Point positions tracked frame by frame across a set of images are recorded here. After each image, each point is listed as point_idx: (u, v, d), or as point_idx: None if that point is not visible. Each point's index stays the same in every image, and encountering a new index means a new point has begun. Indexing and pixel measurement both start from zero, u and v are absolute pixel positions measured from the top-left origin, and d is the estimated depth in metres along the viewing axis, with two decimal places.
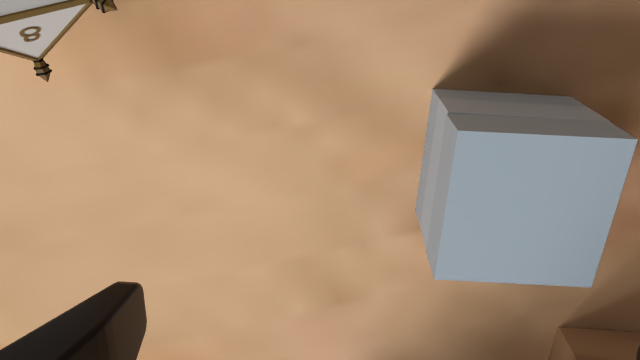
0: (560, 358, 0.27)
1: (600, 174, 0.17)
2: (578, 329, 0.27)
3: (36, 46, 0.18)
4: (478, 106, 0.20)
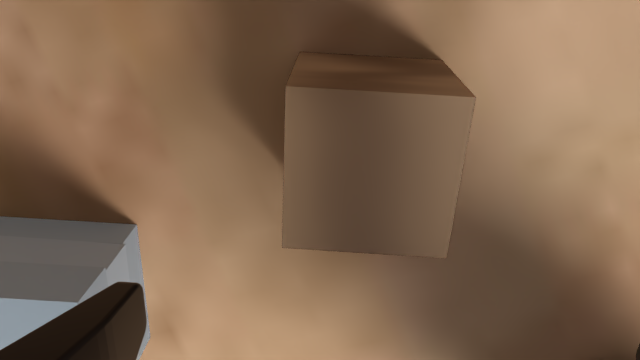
0: None
1: None
2: None
3: None
4: None
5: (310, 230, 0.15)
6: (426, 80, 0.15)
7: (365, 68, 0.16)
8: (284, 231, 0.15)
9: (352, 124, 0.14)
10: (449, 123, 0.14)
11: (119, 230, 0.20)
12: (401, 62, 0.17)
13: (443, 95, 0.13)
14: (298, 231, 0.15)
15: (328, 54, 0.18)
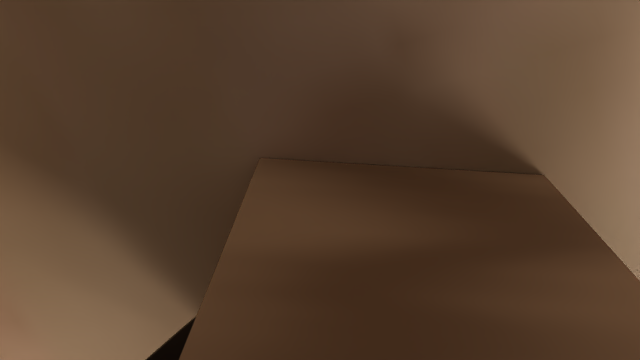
0: None
1: None
2: None
3: None
4: None
5: None
6: (559, 288, 0.06)
7: (398, 228, 0.07)
8: None
9: None
10: None
11: None
12: (469, 193, 0.08)
13: None
14: None
15: (316, 167, 0.09)
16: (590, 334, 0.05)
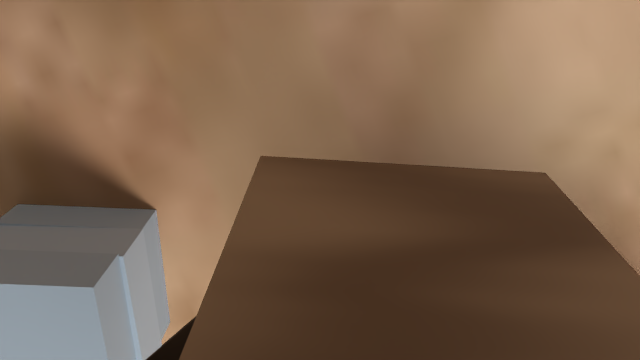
0: None
1: None
2: None
3: None
4: None
5: None
6: (561, 285, 0.06)
7: (399, 225, 0.07)
8: None
9: None
10: None
11: (139, 216, 0.21)
12: (471, 191, 0.08)
13: None
14: None
15: (317, 164, 0.09)
16: (592, 331, 0.05)
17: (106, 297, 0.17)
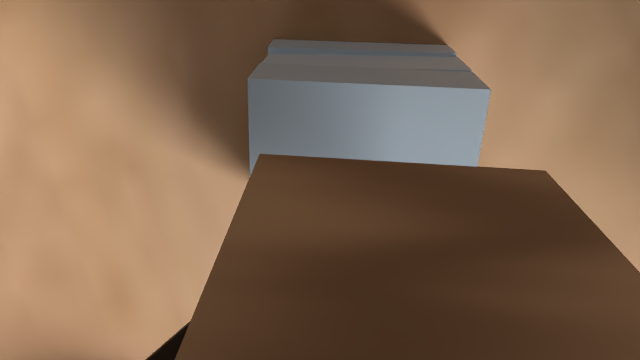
0: None
1: (300, 115, 0.13)
2: None
3: None
4: None
5: None
6: (561, 282, 0.06)
7: (398, 222, 0.07)
8: None
9: None
10: None
11: (435, 47, 0.17)
12: (471, 188, 0.08)
13: None
14: None
15: (316, 162, 0.09)
16: (593, 328, 0.05)
17: None
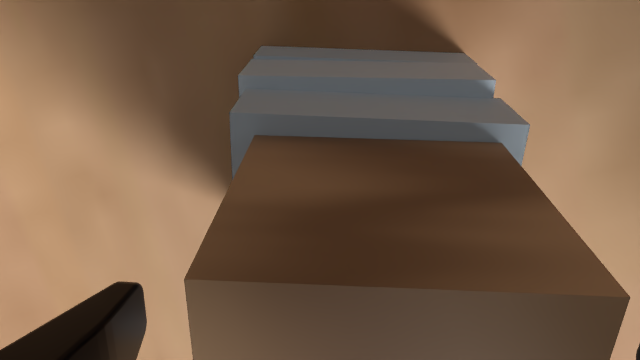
0: None
1: None
2: None
3: None
4: None
5: None
6: (495, 222, 0.07)
7: (368, 183, 0.08)
8: None
9: (343, 349, 0.06)
10: (563, 347, 0.06)
11: (450, 56, 0.14)
12: (433, 157, 0.09)
13: (553, 294, 0.06)
14: None
15: (303, 140, 0.10)
16: (512, 252, 0.06)
17: None
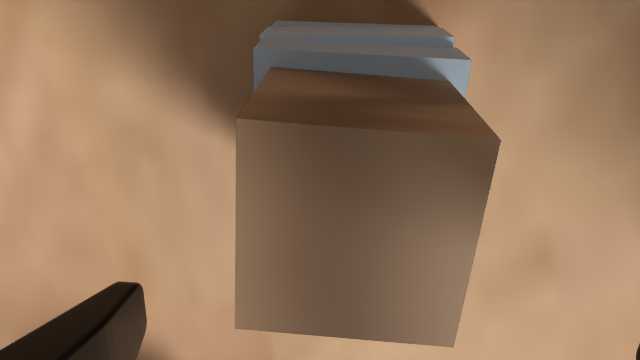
0: None
1: None
2: None
3: None
4: None
5: (272, 307, 0.11)
6: (431, 111, 0.11)
7: (351, 92, 0.12)
8: (237, 308, 0.11)
9: (329, 172, 0.10)
10: (462, 173, 0.10)
11: (426, 27, 0.18)
12: (398, 84, 0.13)
13: (456, 136, 0.09)
14: (256, 308, 0.11)
15: (306, 71, 0.14)
16: (438, 122, 0.10)
17: None
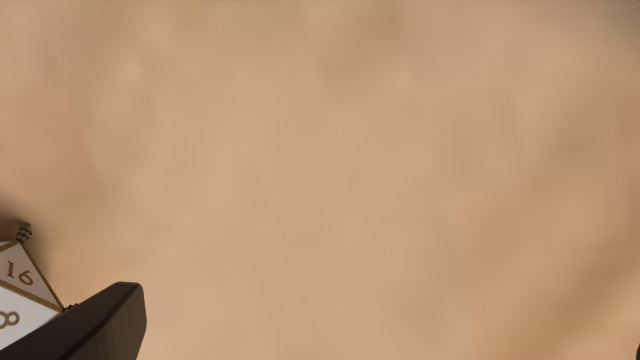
0: None
1: None
2: None
3: (36, 314, 0.20)
4: None
5: None
6: None
7: None
8: None
9: None
10: None
11: None
12: None
13: None
14: None
15: None
16: None
17: None
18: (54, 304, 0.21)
